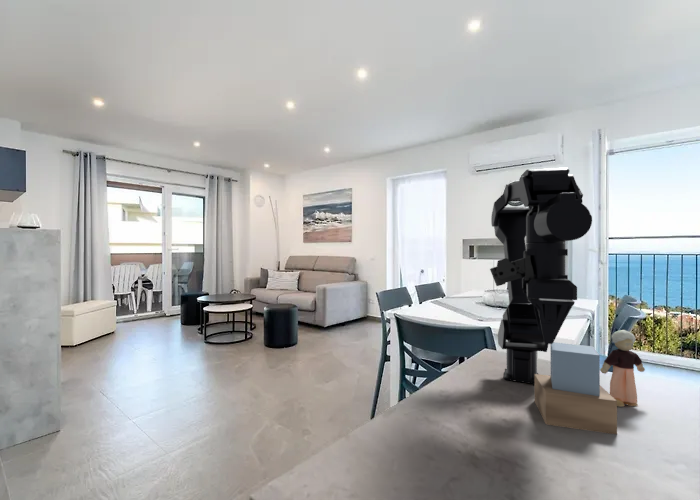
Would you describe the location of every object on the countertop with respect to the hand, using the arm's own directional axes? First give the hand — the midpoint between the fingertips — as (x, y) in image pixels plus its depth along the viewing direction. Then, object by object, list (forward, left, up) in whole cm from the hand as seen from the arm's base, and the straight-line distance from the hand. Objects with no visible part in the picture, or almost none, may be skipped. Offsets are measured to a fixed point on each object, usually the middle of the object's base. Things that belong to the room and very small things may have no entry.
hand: (545, 337), depth 58 cm
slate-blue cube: (+1, +4, -7) cm, 8 cm away
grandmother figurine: (-9, +13, -12) cm, 20 cm away
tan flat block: (+1, +4, -12) cm, 13 cm away
